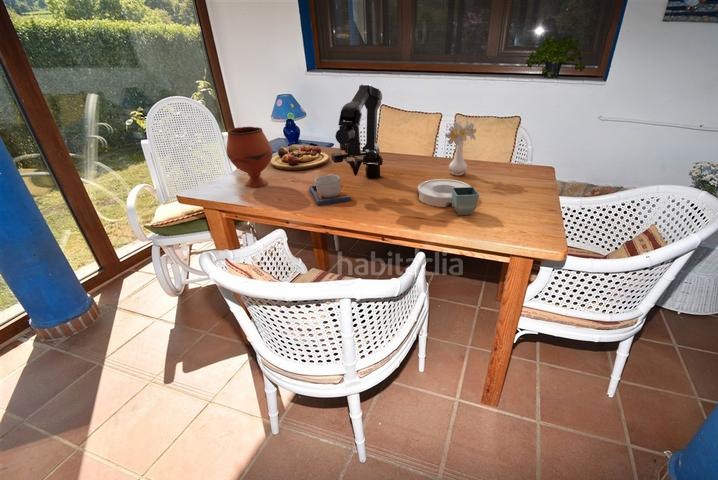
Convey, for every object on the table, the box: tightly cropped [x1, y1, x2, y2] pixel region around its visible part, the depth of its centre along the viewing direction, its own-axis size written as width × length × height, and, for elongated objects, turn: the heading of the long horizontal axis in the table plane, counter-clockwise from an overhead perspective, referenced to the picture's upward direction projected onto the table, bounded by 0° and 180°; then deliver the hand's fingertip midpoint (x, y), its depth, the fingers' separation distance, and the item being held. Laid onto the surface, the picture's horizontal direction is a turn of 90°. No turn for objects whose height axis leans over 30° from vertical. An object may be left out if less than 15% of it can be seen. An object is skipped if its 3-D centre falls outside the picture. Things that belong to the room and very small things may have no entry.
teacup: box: [314, 173, 342, 199], centre depth 155 cm, size 14×11×8 cm
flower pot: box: [452, 186, 480, 216], centre depth 138 cm, size 9×9×9 cm
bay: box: [308, 184, 352, 206], centre depth 157 cm, size 14×20×2 cm
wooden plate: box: [269, 144, 330, 171], centre depth 197 cm, size 32×32×8 cm
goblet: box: [226, 126, 273, 188], centre depth 163 cm, size 19×19×25 cm
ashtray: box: [417, 178, 472, 208], centre depth 154 cm, size 23×23×4 cm
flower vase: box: [444, 119, 477, 176], centre depth 174 cm, size 13×18×25 cm
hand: (355, 175), depth 157 cm, fingers closed
